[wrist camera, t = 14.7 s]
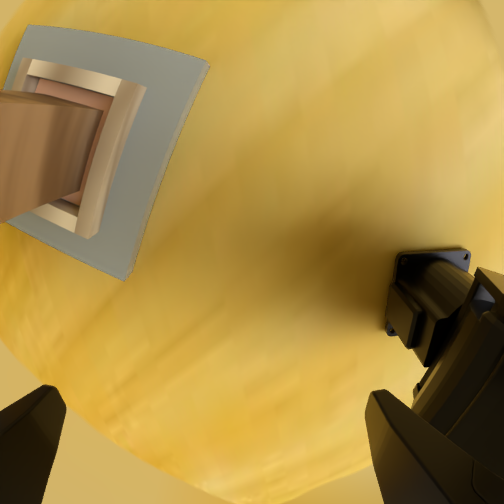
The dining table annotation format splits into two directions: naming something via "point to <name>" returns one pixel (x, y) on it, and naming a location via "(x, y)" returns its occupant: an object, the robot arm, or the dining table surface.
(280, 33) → the dining table surface
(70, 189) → the walnut block
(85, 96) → the grey square framed tray
